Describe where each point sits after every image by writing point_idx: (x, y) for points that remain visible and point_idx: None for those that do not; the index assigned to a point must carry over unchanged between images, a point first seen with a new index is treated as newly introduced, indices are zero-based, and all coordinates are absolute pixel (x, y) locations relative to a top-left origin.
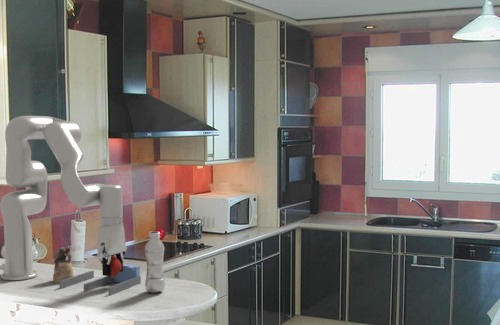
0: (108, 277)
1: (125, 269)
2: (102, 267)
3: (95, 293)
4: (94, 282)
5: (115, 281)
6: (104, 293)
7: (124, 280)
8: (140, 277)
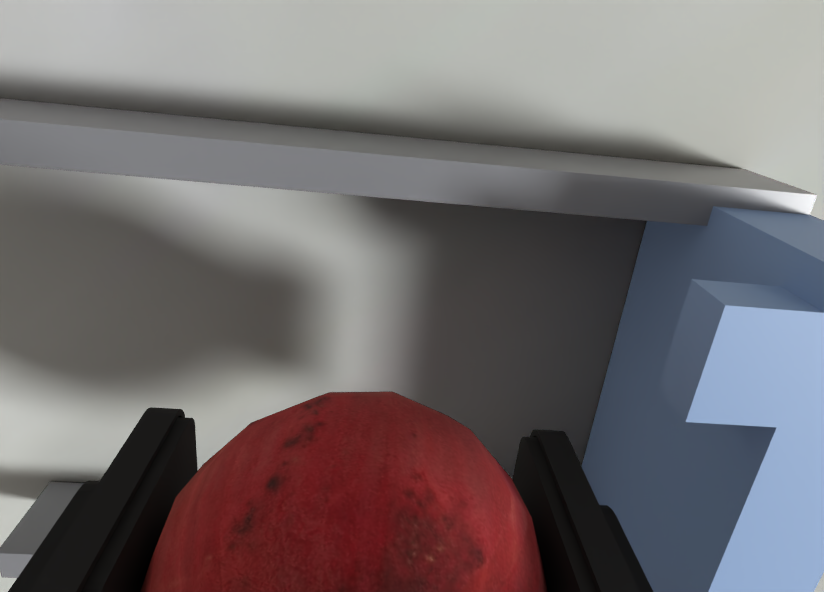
0: (565, 208)
1: (684, 519)
2: (78, 517)
3: (11, 311)
4: (176, 173)
5: (644, 233)
6: (76, 408)
7: (619, 386)
8: None
